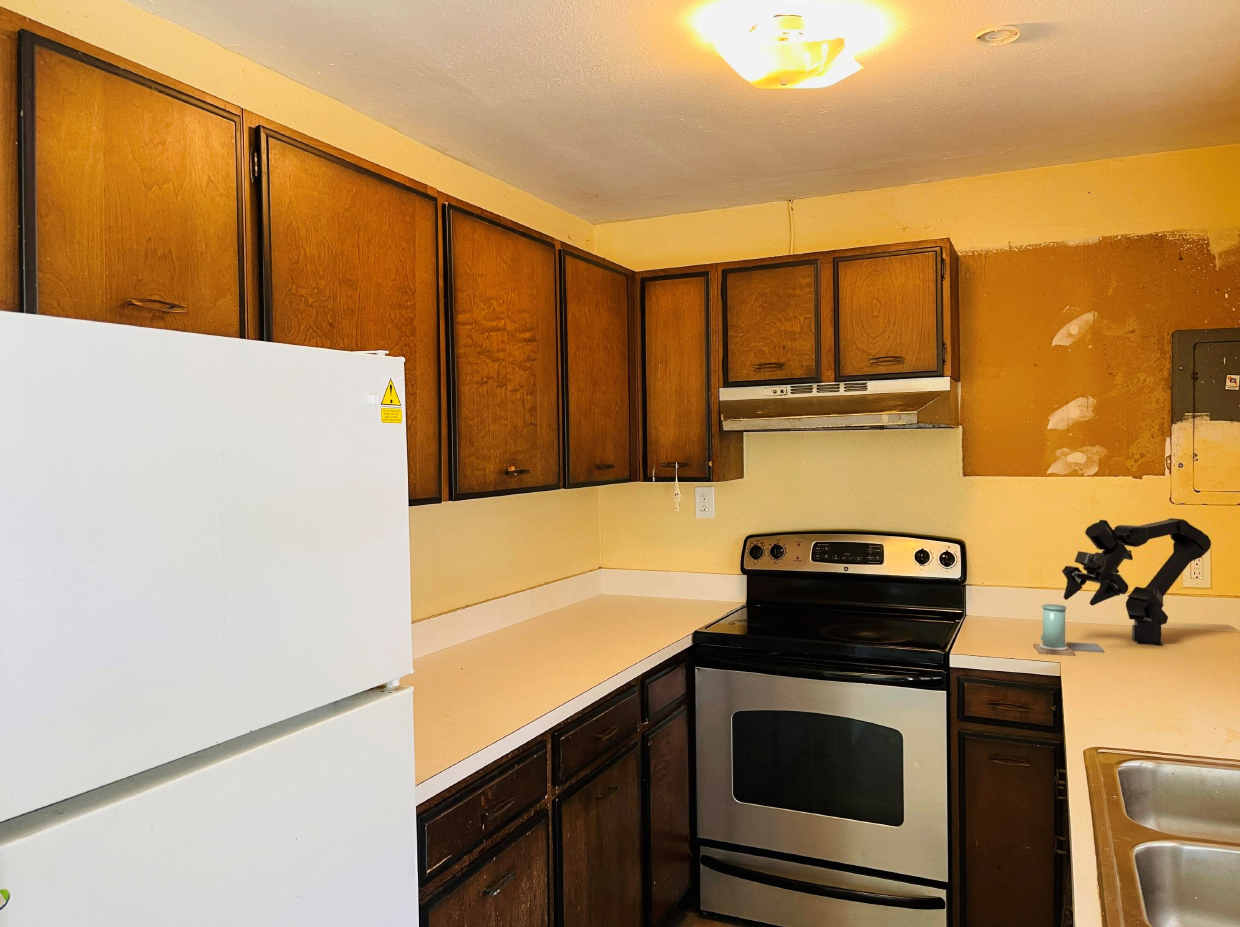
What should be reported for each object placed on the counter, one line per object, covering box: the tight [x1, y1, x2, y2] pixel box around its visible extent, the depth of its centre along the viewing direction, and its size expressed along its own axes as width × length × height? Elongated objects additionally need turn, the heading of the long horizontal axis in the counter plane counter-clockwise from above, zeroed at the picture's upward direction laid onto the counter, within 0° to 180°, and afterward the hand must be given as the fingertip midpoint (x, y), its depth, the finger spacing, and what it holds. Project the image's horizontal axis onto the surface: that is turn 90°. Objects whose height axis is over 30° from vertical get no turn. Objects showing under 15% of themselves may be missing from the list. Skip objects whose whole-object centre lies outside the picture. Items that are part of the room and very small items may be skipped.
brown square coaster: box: [1033, 642, 1076, 657], centre depth 248 cm, size 9×9×2 cm
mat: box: [1065, 641, 1105, 653], centre depth 252 cm, size 8×8×1 cm
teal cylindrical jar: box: [1040, 603, 1067, 648], centre depth 248 cm, size 6×6×11 cm
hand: (1077, 601), depth 250 cm, fingers open, 9 cm apart
